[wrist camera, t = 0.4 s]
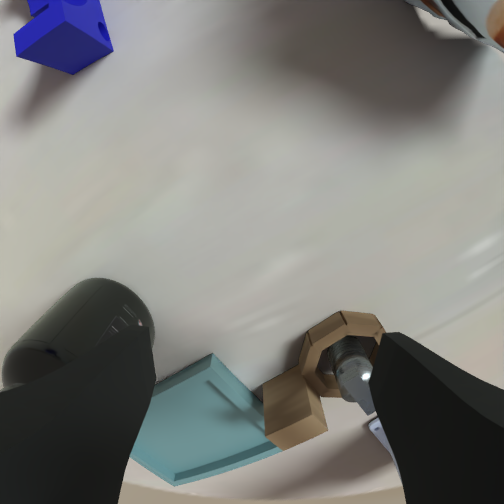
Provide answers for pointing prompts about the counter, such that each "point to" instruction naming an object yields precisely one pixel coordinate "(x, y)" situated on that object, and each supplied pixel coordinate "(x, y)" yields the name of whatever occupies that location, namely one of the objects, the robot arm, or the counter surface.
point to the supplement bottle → (74, 329)
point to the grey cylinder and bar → (352, 371)
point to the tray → (201, 425)
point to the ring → (311, 381)
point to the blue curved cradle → (64, 34)
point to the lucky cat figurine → (470, 17)
